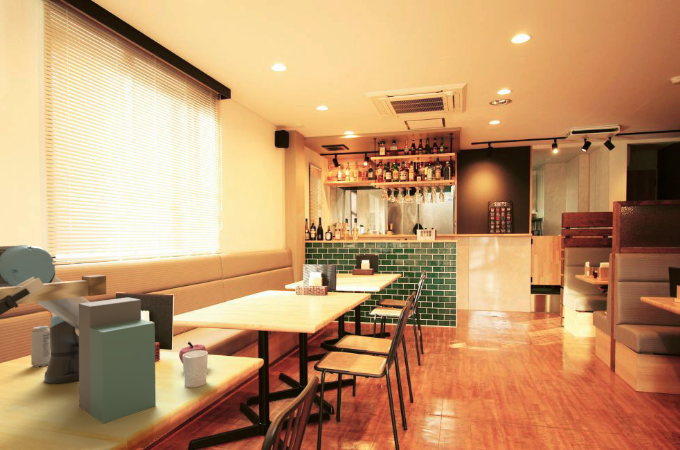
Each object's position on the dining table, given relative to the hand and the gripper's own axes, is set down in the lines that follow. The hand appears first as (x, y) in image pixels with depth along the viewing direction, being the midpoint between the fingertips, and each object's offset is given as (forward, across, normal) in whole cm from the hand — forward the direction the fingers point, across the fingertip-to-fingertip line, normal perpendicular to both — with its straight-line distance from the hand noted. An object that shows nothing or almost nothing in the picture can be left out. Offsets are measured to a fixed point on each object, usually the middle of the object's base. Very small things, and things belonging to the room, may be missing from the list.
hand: (38, 281), depth 100 cm
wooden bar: (0, 0, -6) cm, 6 cm away
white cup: (+18, -2, -55) cm, 58 cm away
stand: (-2, -5, -43) cm, 44 cm away
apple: (+25, -17, -59) cm, 66 cm away
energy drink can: (-5, -72, -42) cm, 83 cm away
